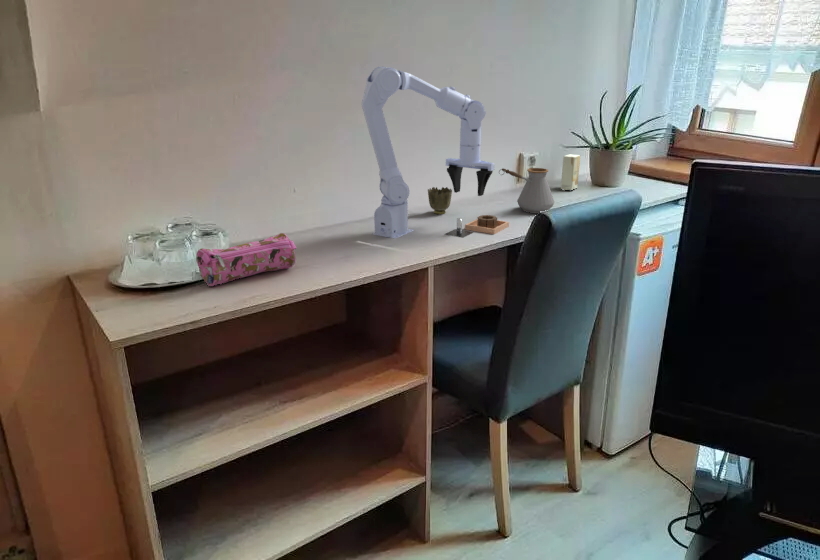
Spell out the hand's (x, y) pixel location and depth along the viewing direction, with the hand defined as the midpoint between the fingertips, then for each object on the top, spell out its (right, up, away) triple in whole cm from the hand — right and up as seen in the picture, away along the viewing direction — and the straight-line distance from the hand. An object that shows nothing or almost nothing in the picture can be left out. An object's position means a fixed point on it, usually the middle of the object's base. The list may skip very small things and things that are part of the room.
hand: (468, 193), depth 175 cm
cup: (-7, -4, +17) cm, 19 cm away
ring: (+5, -10, +1) cm, 11 cm away
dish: (+5, -10, +1) cm, 11 cm away
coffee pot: (+19, -4, +18) cm, 26 cm away
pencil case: (-53, -24, -33) cm, 67 cm away
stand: (-3, -12, -4) cm, 13 cm away
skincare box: (+41, +8, +48) cm, 64 cm away
